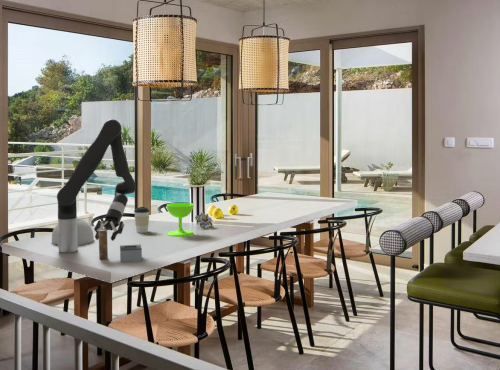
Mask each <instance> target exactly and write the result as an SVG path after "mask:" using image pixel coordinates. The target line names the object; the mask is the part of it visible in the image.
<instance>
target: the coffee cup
mask: <svg viewBox="0 0 500 370" xmlns="http://www.w3.org/2000/svg"><path fill="white" fill-rule="evenodd" d="M133 213H134V222H135V231H136V233H139V234H145V233H148V232H149V221H150V210H149V209H148V207H145V206H140V207H136V208H135V209H134V212H133Z"/></svg>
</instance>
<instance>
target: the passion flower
mask: <svg viewBox="0 0 500 370" xmlns="http://www.w3.org/2000/svg"><path fill="white" fill-rule="evenodd" d="M194 218H195V220H196V221H197V222H196V225H199V226H200V228H204V229H205V230H206V229H207V228H208V227H213V222H214V220H213V219H212V216H210V215H209V213H206V214H205V213H204V212H202V211H201V212H200V214H198V215H195V216H194Z"/></svg>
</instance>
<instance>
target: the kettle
mask: <svg viewBox="0 0 500 370" xmlns="http://www.w3.org/2000/svg"><path fill="white" fill-rule="evenodd" d="M58 234H59V232H58V223H56V224H55V226H54V228H53V229H52V234H51V243H53V244H52V245H55V244H57V245H56V246H58ZM94 238H95V236H94V231H93V229H92V226H91V225H90V224H89V223H88V222H87V221H86V220H85V219H84V218H81V217H79V216H77V243H78V246H79V245H86V244H89V243H93V242H94V241H95V239H94Z"/></svg>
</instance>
